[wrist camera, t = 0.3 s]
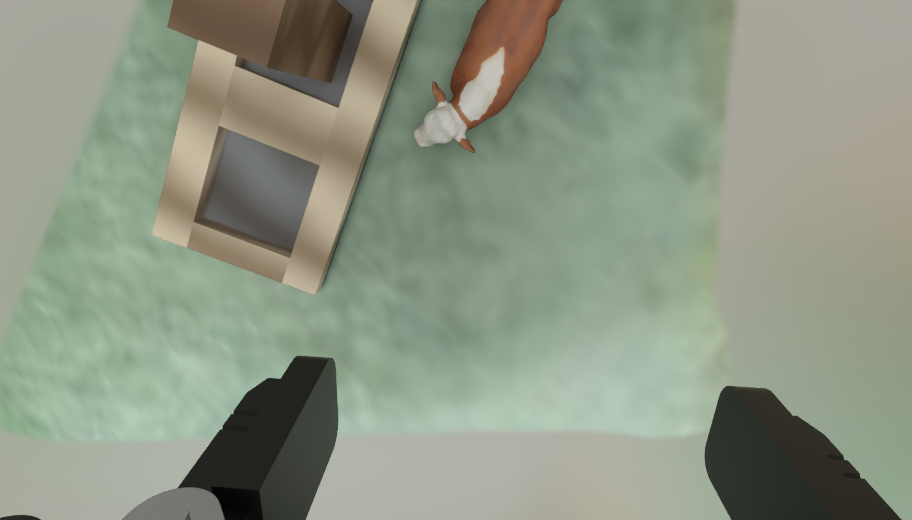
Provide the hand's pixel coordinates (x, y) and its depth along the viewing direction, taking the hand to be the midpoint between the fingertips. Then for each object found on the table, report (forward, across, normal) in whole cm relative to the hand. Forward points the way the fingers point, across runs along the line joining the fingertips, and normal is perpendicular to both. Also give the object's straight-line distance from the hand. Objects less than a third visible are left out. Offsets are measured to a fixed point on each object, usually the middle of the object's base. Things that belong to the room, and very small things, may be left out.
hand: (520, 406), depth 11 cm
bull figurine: (+28, +1, -7) cm, 29 cm away
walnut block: (+27, +13, -8) cm, 31 cm away
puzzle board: (+27, +15, -3) cm, 31 cm away
